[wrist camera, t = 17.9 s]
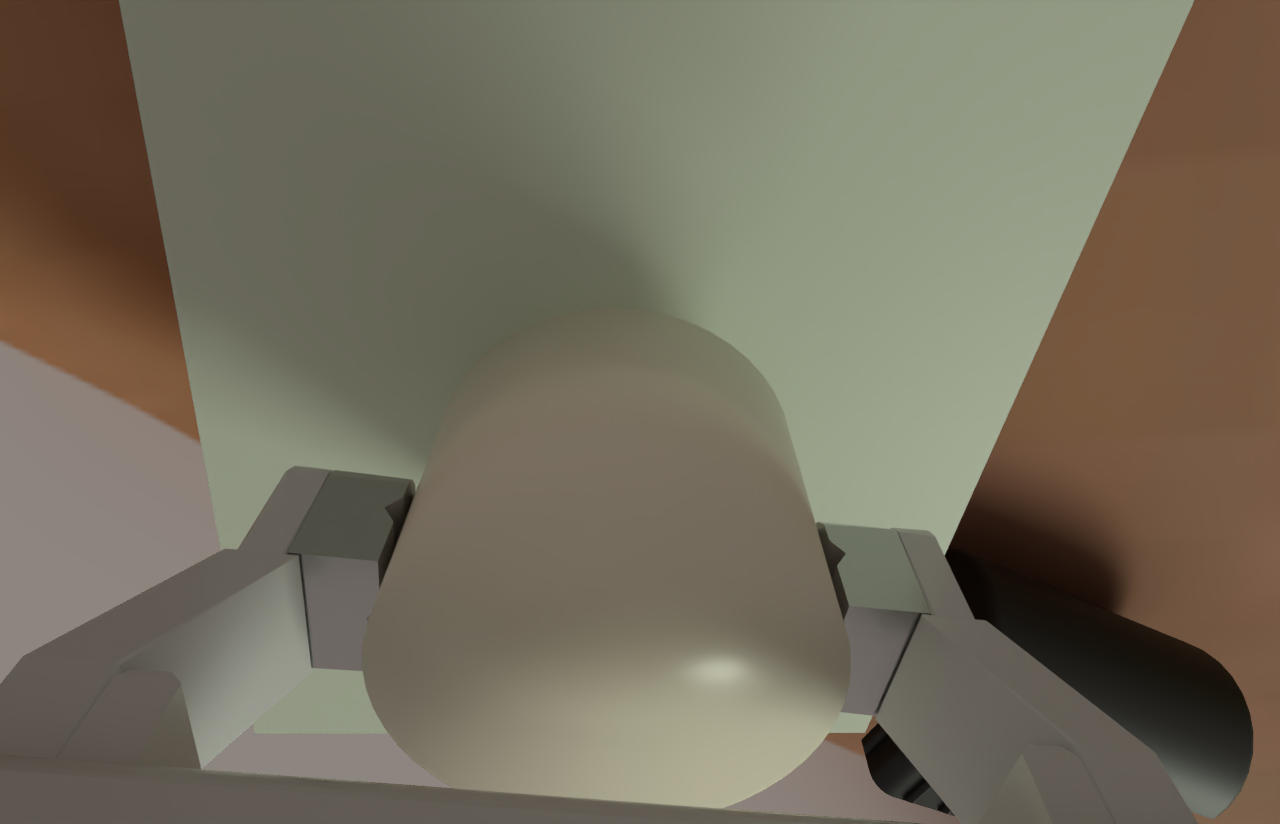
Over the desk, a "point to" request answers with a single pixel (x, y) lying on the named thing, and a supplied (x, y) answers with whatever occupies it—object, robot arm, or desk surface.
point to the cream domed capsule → (610, 576)
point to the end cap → (1104, 687)
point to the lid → (627, 219)
